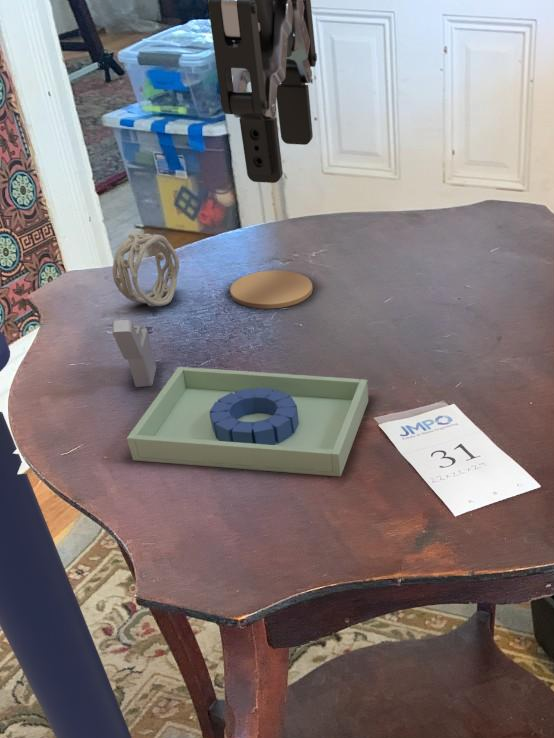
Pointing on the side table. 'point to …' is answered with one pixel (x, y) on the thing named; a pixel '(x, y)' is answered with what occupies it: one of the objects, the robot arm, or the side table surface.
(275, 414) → the ring
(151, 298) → the bracelet
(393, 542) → the side table surface
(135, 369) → the gray letter y
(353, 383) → the tray
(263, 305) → the coaster
